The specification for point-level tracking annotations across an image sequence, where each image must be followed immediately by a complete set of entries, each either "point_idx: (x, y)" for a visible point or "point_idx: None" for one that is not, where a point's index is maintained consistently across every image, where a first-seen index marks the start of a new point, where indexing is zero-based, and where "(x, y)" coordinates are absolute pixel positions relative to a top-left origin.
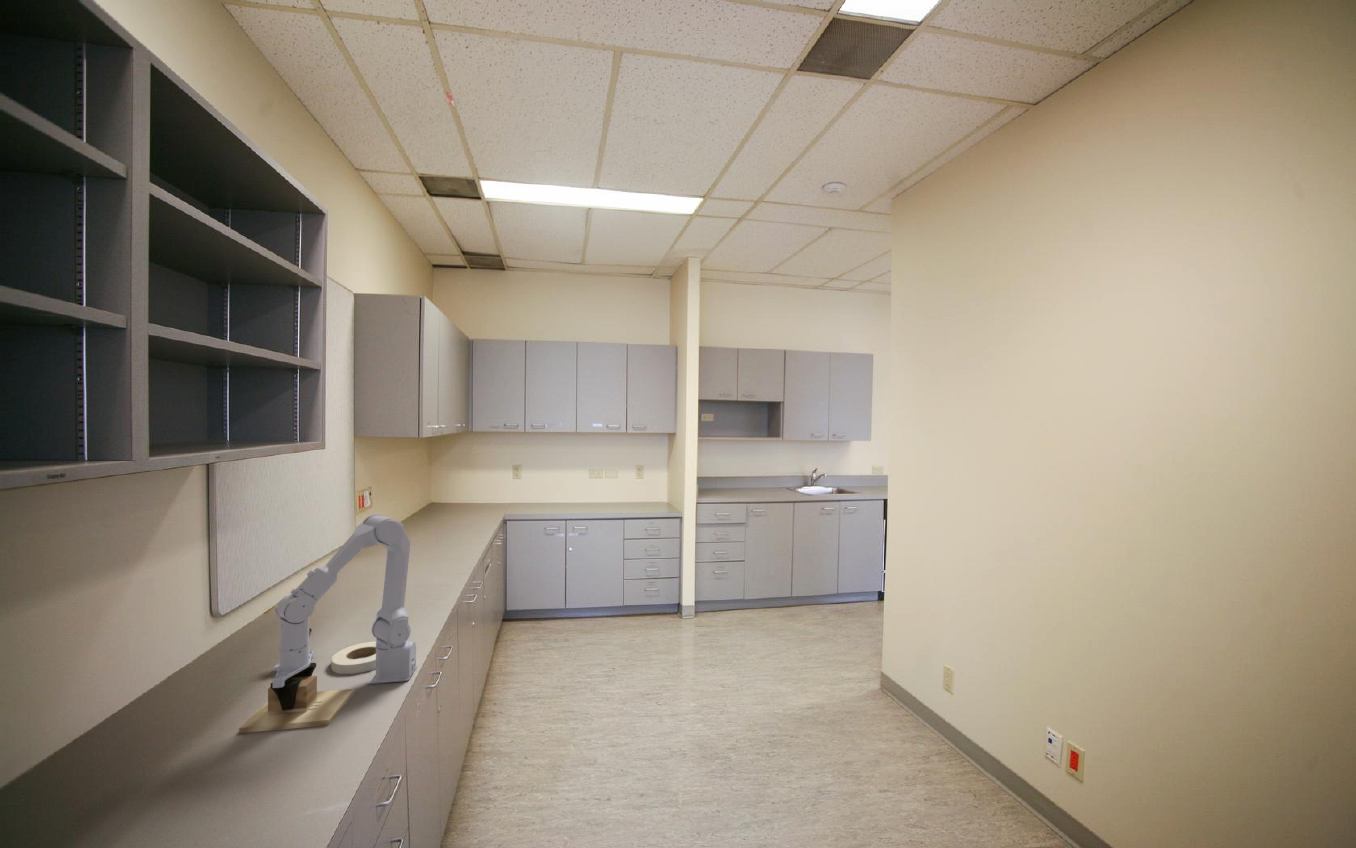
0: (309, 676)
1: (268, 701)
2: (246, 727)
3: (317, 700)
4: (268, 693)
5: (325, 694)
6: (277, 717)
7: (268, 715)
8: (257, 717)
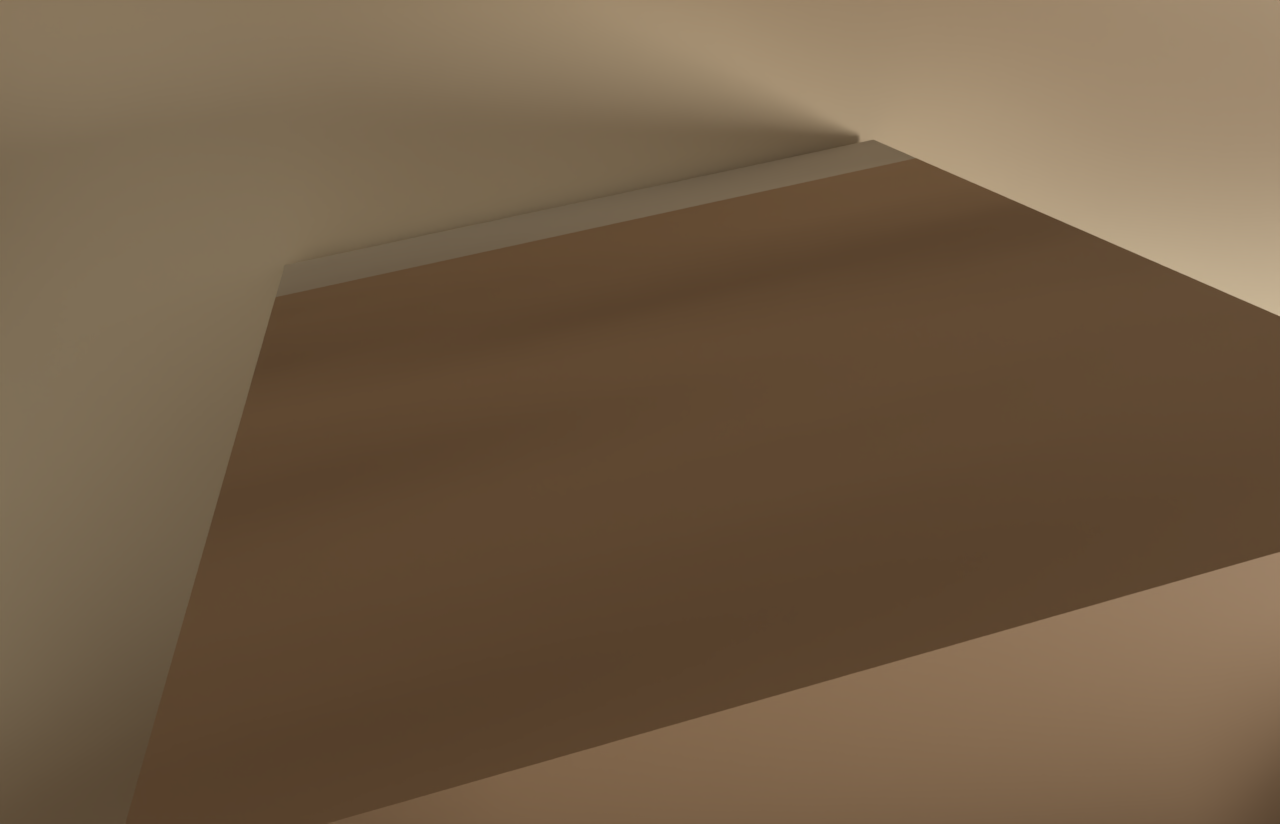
0: None
1: (243, 457)
2: None
3: None
4: (187, 680)
5: None
6: None
7: (275, 291)
8: (128, 38)
